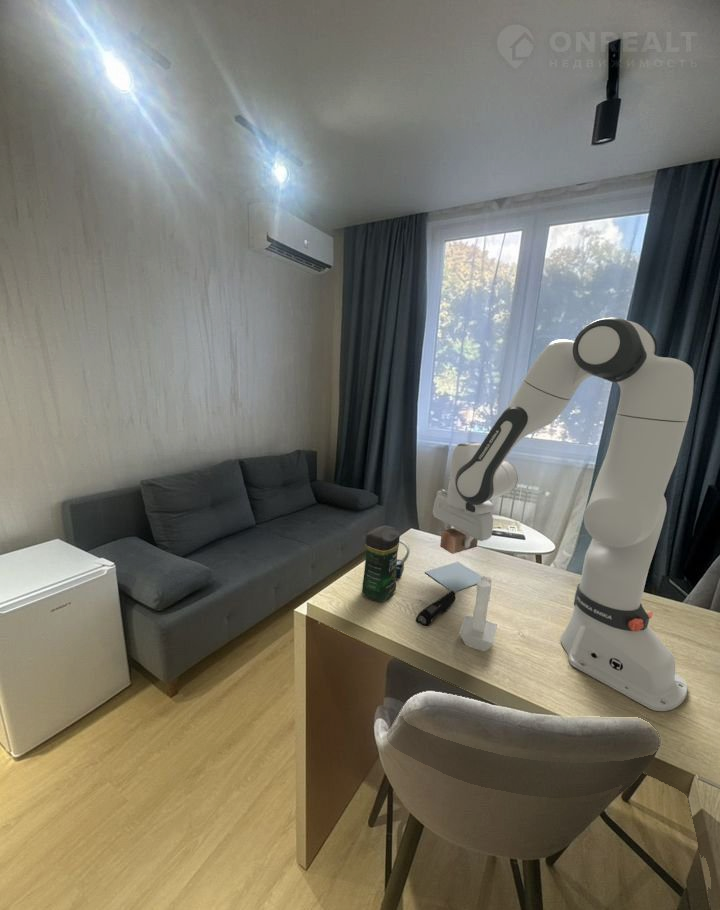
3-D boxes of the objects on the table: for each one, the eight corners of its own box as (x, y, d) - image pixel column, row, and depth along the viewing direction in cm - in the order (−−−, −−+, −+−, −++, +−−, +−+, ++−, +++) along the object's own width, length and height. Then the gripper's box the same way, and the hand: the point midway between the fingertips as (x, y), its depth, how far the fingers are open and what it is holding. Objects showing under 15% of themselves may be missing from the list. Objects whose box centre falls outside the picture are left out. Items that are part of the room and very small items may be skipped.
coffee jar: (383, 606, 96) (387, 540, 92) (357, 595, 100) (360, 531, 96) (400, 589, 104) (405, 527, 100) (376, 580, 108) (379, 520, 104)
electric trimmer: (458, 603, 100) (460, 593, 99) (427, 629, 89) (428, 617, 88) (446, 597, 102) (447, 587, 102) (414, 621, 91) (415, 610, 91)
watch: (383, 566, 117) (385, 533, 114) (409, 571, 114) (411, 537, 112) (379, 574, 111) (381, 540, 109) (405, 580, 109) (408, 545, 107)
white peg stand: (456, 649, 82) (463, 588, 79) (464, 625, 91) (471, 569, 87) (490, 661, 79) (499, 598, 76) (495, 635, 88) (503, 577, 84)
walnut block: (478, 531, 110) (454, 537, 105) (476, 546, 111) (452, 553, 106) (466, 525, 114) (441, 530, 109) (464, 540, 115) (440, 546, 110)
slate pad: (487, 580, 111) (487, 579, 111) (453, 592, 104) (453, 591, 104) (457, 562, 121) (457, 561, 121) (424, 572, 114) (424, 571, 114)
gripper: (430, 488, 114) (426, 530, 117) (483, 511, 97) (476, 559, 100) (445, 485, 117) (441, 526, 120) (499, 507, 100) (492, 554, 103)
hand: (457, 542), depth 110 cm, fingers closed on walnut block, 5 cm apart
